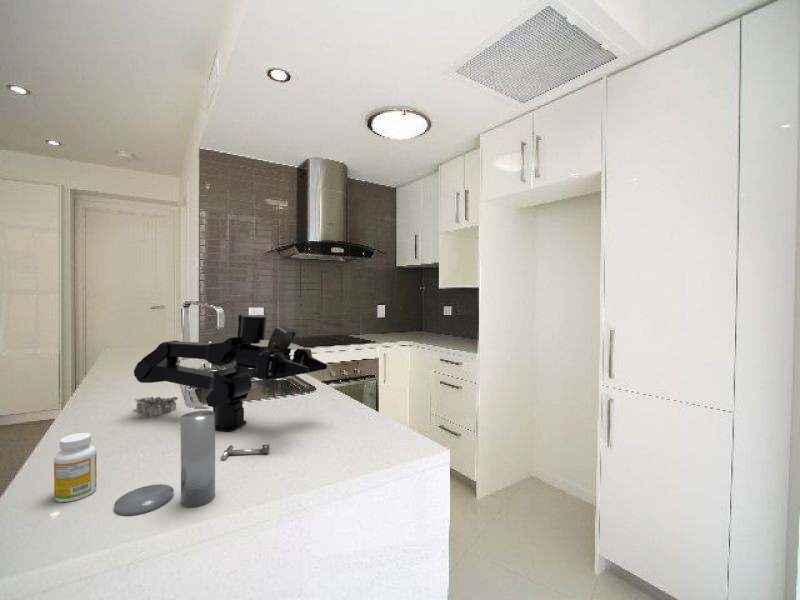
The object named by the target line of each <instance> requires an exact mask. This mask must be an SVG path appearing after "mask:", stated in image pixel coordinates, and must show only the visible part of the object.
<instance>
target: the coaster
mask: <svg viewBox="0 0 800 600" xmlns="http://www.w3.org/2000/svg"><path fill="white" fill-rule="evenodd" d="M173 498H174V487H173V486H171V485H168V484H151V485H146V486H141V487H139V488H135V489H133V490H131V491H128V492H126V493H125V494H122V495H121V496H120V497H119V498H117V499H116V500H115V502H114V505H113V510H114V512H115V513H116V514H117V515H119V516H137V515H138V516H139V515H143V514H146V513H150V512H153V511H155V510H157V509H159V508H161V507H163V506H165V505H166V504H168V503H169V502H170V501H171V500H172V499H173Z"/></svg>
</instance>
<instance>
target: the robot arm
mask: <svg viewBox="0 0 800 600" xmlns="http://www.w3.org/2000/svg"><path fill="white" fill-rule="evenodd" d="M267 319H268V316H267V315H264V314H263V315H262V314H239V315H238V327H237V328H238V329H237V336H233V337H232V336H231V337H229V338H228V339H226V340H224V341H219V342H213V343H212V342H198V341H197V342H196V341H195V342H194V341H180V340H171V341H170V340H169V341H163V342H161V343H160V344H158V346H156V347H155V349H154V350H153V351H151V352H150V353H148V354H146V355H145V356H144V357H142V359H141V360H140V361H138V362H137V364H135V368H134V370H133V375H134V378H135V379H136V380H137V382H139V383H141V384H151V383H160V382H161V383H162V382H168V383H172V384H178V385H181V386H186V387H192V388H195V389H201V390H206V391H208V392H209V393H208V395H207V396H206V397H205V400H206V404H207V406H208V407H212V411H213V412H215V431H222V432H233V431H234V430H236V429H238V428H241V426H243V425H246V424H247V420H245V408H244V406H243V400H245V399H247V398H248V396H249V392H250V391H251V390H252V385H253V383H252V378H251V376H250V374H249V373H248V372H249V369H251V370H252V369H253V370H256V372H255V375H256V376H257V377H256V378H258V380H261V381H266V382H267V381H273V380H278V379H279V380H280V379H284V378H288V377H293V376H298V375H305V374H309V373H315V372H319V371H323V370H327V368H328V364H327V363H324V362H323V361H321V360H319V359H317V358H316V357H313V355H312V350H311V349H310V348H305V347H304V348H301V347H300V348H296V349H295V351H293V357H292V358H291V355H290V354H291V351H292V348H290V345H291V344H292V343H293V341H294V339H295V337H296V335H297V333H296V331H294V328H289V327H288V326H286V325H277V326H276V327H275V328H274V330H273V331H272V334H271V336H270V338H269V340H268V344H267V346H265V345H264V346H262V345H256V344H260V343H261V341H264V340H265V338H266V332H267V331H266V330H267V329H266V328H267ZM179 358H183V359H184V358H185V359H186V358H187V359H199V360H204V361H205V360H206V361H207V362H208V363H209V364H212V365H215V366H226V365H230V364H234V363H235V365H234V366H233V367H227V368H226V367H225V368H222V369H219V370H216V371H215V370H214V371H212V372H211V371H207V370H202V369H197V368H192V367H189V366H188V367H187V366H182V365H178V363H179Z"/></svg>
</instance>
